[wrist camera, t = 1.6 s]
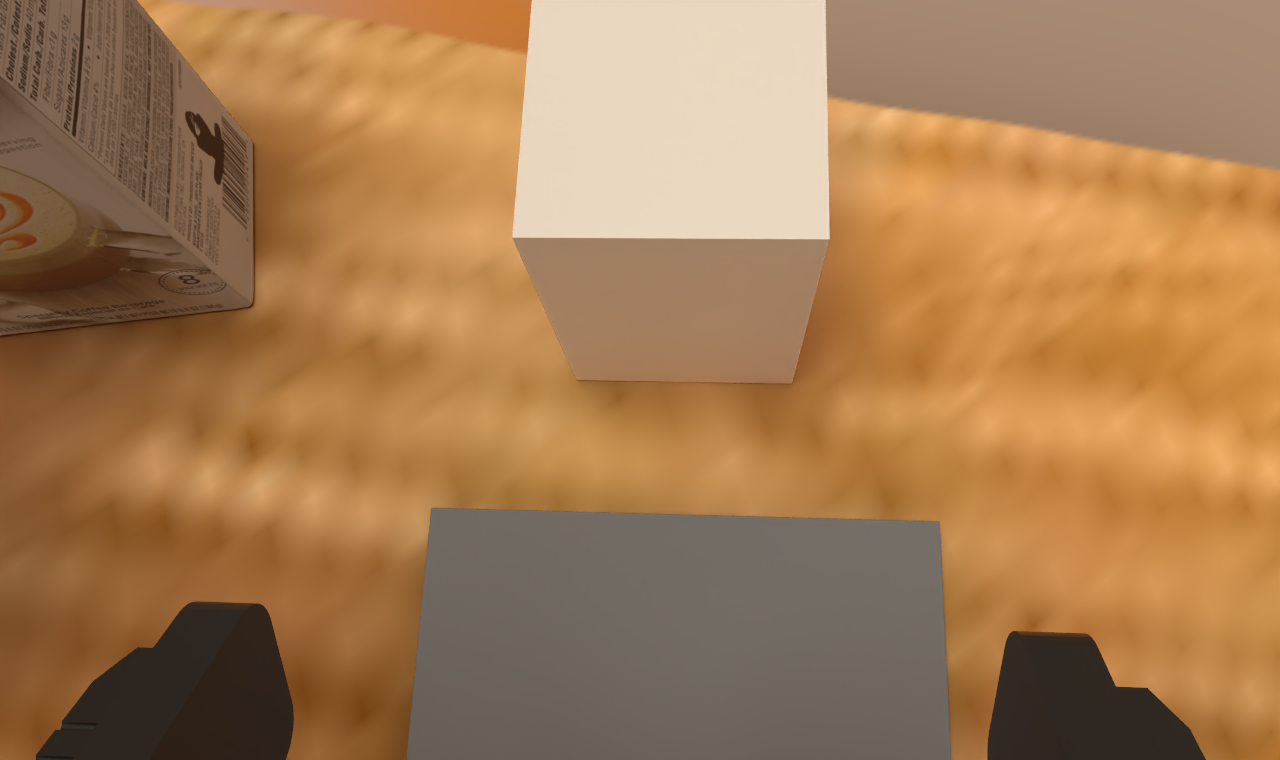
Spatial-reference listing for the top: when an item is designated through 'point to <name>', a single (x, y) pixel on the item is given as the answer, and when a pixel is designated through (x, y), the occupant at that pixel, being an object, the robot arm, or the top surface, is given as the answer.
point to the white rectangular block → (675, 184)
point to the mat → (679, 638)
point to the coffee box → (114, 173)
